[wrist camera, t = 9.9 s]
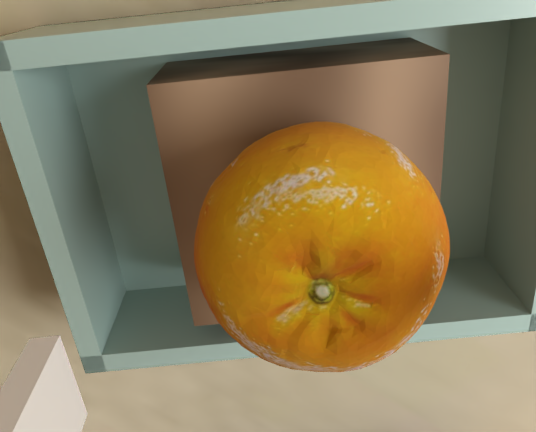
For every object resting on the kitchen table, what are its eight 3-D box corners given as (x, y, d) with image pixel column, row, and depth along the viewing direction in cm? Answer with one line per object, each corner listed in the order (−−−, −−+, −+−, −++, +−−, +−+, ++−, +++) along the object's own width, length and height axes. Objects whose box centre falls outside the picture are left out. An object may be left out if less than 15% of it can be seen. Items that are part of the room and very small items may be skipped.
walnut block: (203, 268, 27) (194, 326, 23) (166, 62, 23) (146, 85, 18) (403, 248, 27) (433, 303, 23) (409, 37, 22) (450, 54, 18)
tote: (115, 298, 29) (85, 373, 24) (39, 25, 22) (-27, 43, 17) (493, 262, 29) (549, 329, 23) (529, -25, 22) (619, -23, 17)
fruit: (357, 31, 14) (357, 300, 10) (475, 173, 20) (504, 384, 16) (168, 137, 19) (120, 343, 15) (303, 227, 25) (293, 396, 21)
